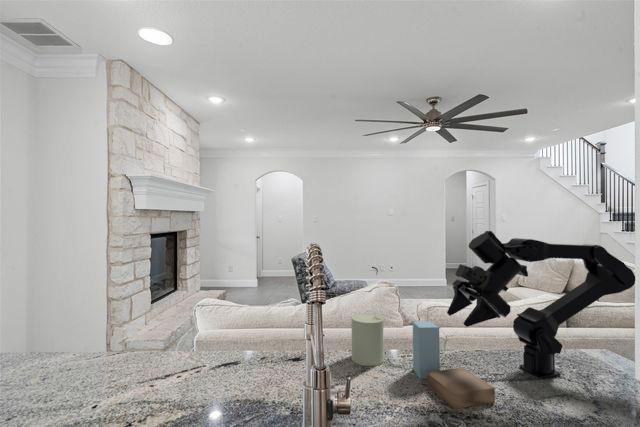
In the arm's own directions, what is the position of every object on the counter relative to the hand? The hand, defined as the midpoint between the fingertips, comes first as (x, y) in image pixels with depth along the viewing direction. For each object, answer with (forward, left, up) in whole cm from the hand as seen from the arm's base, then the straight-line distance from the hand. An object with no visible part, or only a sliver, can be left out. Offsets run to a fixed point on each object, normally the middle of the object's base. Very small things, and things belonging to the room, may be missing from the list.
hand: (456, 319), depth 82 cm
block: (+8, -2, -14) cm, 16 cm away
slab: (+6, +8, -14) cm, 17 cm away
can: (+19, -14, -14) cm, 27 cm away
